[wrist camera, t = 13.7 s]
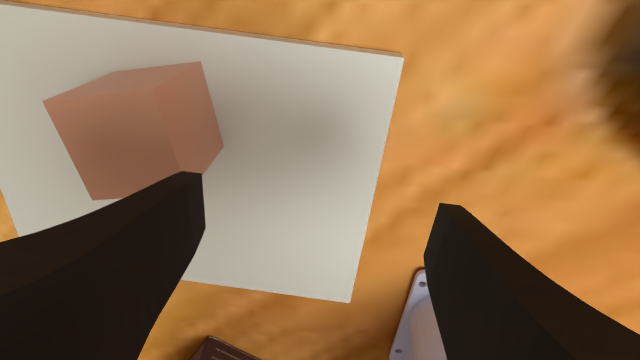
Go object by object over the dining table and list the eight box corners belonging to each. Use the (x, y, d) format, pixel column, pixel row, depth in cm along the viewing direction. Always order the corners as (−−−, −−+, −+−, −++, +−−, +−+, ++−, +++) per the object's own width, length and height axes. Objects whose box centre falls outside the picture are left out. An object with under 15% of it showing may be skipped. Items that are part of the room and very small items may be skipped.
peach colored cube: (200, 61, 17) (152, 88, 13) (224, 146, 19) (188, 193, 15) (115, 71, 18) (42, 100, 13) (146, 153, 20) (92, 200, 16)
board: (350, 289, 25) (349, 350, 21) (40, 246, 25) (-19, 298, 21) (401, 52, 17) (416, 76, 13) (-49, -7, 18) (-170, -2, 13)
